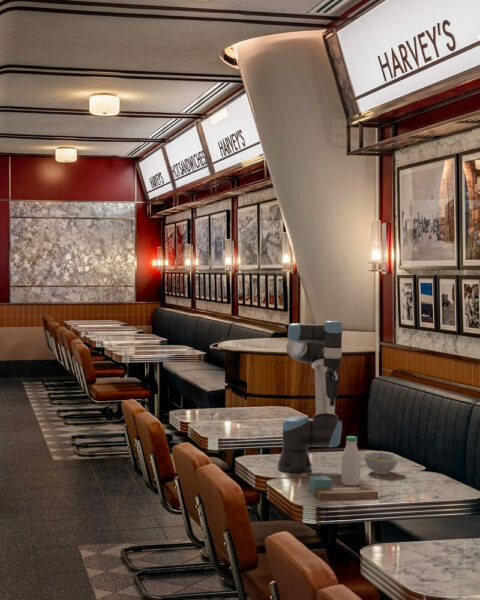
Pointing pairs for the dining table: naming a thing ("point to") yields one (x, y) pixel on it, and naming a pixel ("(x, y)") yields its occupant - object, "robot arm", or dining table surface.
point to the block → (319, 482)
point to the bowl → (381, 462)
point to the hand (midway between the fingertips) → (331, 413)
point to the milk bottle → (351, 463)
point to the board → (345, 493)
